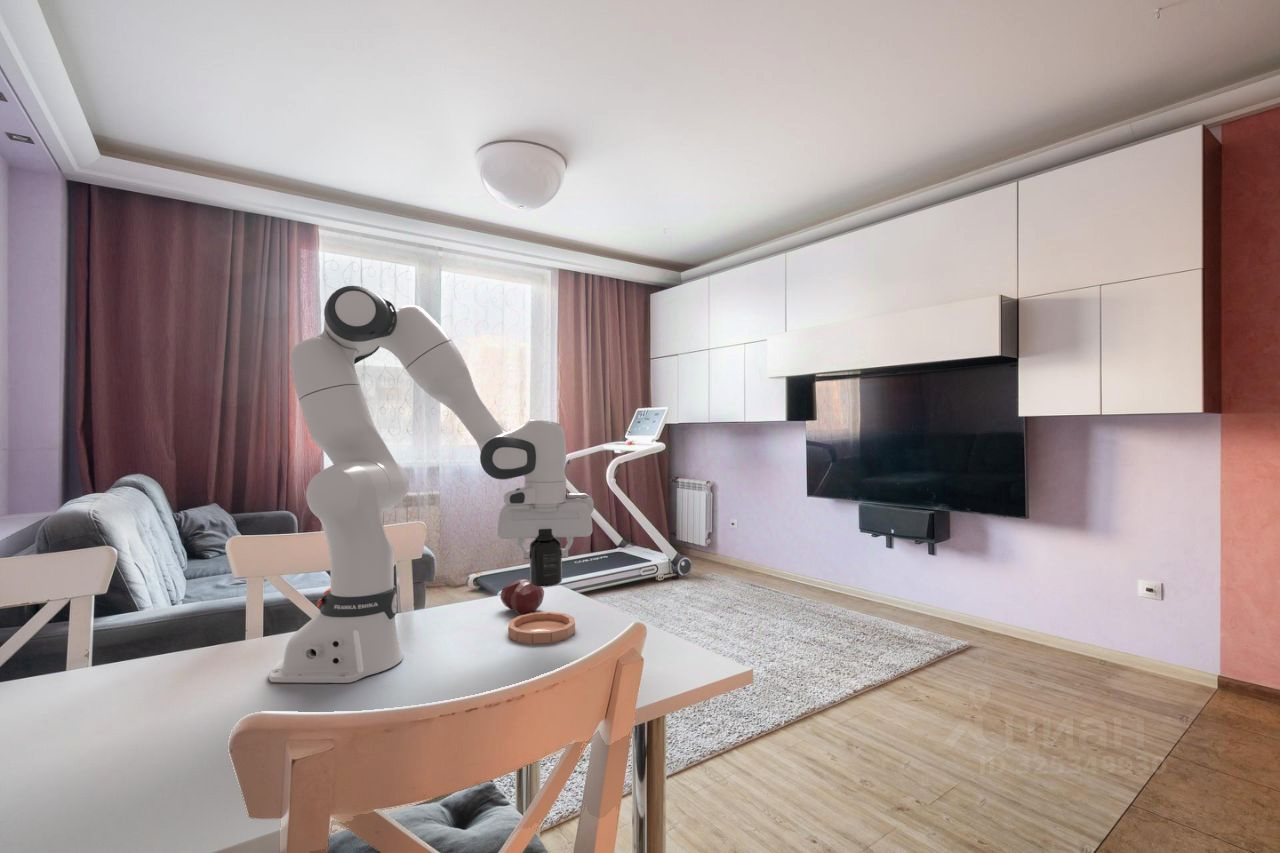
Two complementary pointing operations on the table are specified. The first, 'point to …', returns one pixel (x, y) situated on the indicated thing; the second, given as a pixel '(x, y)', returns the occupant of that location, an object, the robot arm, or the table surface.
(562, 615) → the tray
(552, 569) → the supplement bottle
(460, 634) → the table surface
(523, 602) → the heart
